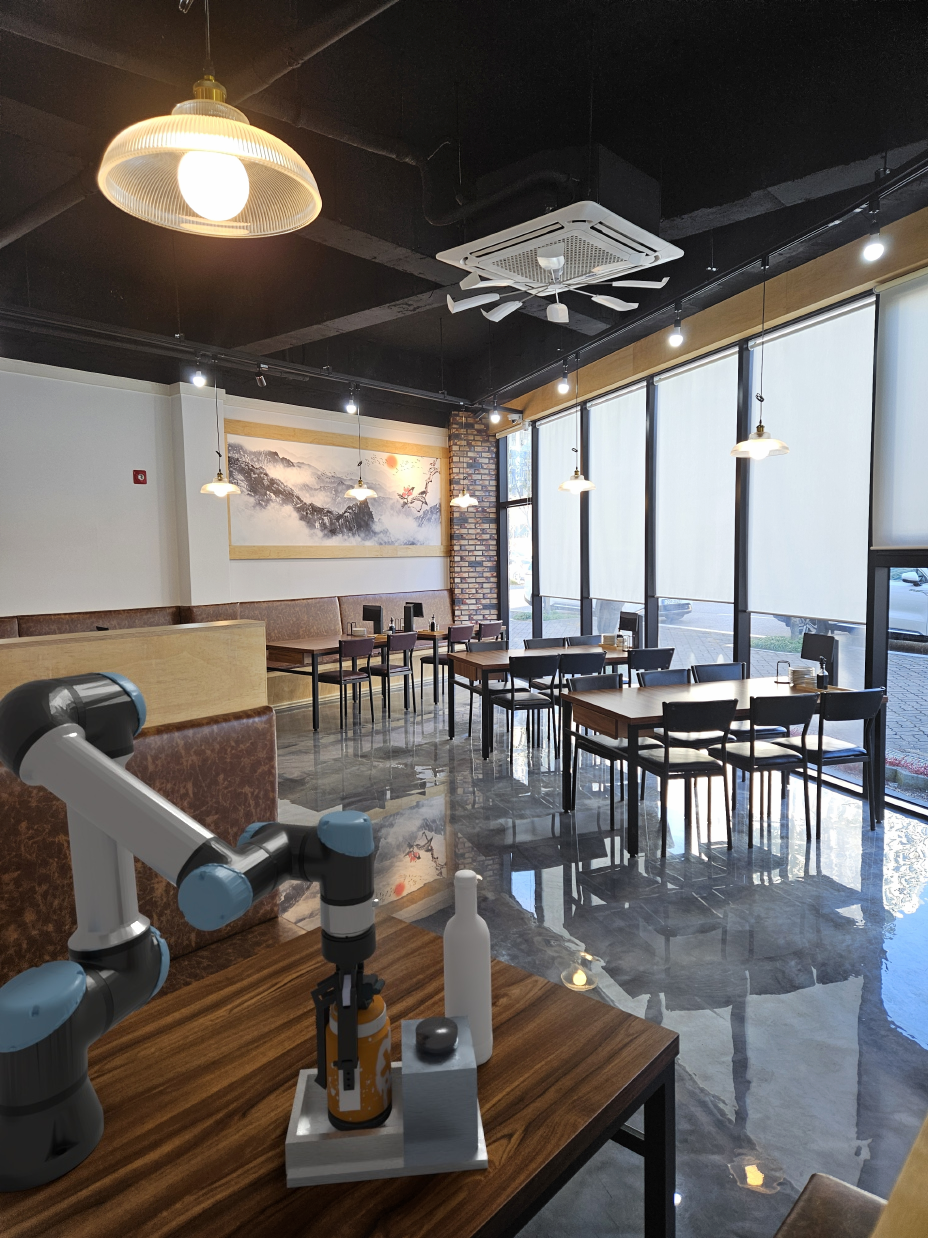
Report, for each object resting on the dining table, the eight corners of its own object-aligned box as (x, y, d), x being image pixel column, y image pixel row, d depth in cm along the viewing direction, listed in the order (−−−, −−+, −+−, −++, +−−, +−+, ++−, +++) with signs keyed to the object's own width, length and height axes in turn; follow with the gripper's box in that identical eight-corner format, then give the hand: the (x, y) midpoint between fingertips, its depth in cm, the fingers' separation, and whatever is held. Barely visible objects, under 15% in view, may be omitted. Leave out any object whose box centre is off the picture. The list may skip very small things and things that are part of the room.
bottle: (484, 1072, 111) (480, 885, 111) (438, 1063, 114) (434, 879, 113) (498, 1042, 119) (495, 867, 118) (454, 1034, 122) (451, 862, 121)
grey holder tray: (285, 1188, 90) (282, 1079, 90) (301, 1100, 106) (299, 1007, 106) (487, 1168, 93) (485, 1062, 92) (474, 1085, 108) (472, 994, 108)
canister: (380, 1143, 94) (377, 995, 93) (303, 1132, 96) (299, 987, 95) (400, 1096, 102) (397, 961, 102) (328, 1087, 104) (325, 954, 104)
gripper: (372, 963, 88) (377, 1140, 88) (377, 892, 109) (380, 1035, 110) (311, 967, 87) (316, 1146, 87) (328, 895, 108) (332, 1038, 109)
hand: (352, 1084), depth 99 cm, fingers closed on canister, 9 cm apart
